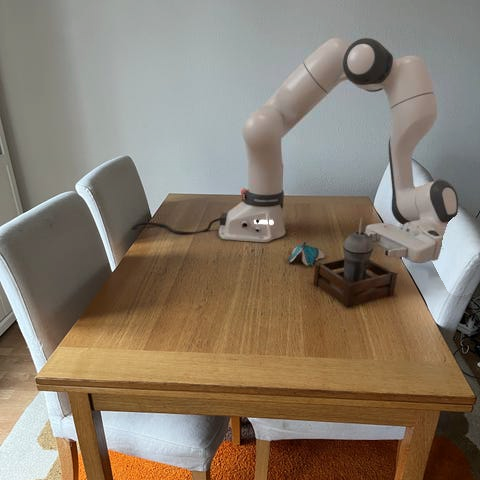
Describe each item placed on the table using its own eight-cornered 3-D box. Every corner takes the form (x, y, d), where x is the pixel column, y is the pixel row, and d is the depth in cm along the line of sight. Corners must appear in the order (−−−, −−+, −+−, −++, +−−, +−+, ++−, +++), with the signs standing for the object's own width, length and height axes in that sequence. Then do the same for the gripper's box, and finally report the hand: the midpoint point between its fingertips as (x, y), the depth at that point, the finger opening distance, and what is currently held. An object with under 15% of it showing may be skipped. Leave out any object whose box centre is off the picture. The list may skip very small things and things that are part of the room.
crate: (347, 308, 116) (350, 286, 113) (313, 284, 127) (315, 263, 124) (393, 295, 121) (397, 274, 118) (357, 273, 133) (359, 253, 130)
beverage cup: (368, 285, 126) (379, 212, 116) (365, 297, 120) (376, 221, 110) (340, 281, 128) (349, 209, 118) (336, 293, 122) (344, 218, 112)
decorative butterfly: (280, 251, 136) (292, 232, 142) (282, 269, 140) (293, 250, 147) (315, 257, 132) (325, 237, 139) (315, 275, 137) (325, 255, 143)
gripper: (390, 214, 132) (350, 222, 127) (448, 238, 117) (404, 248, 111) (387, 236, 136) (347, 244, 130) (442, 262, 120) (400, 273, 115)
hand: (374, 246), depth 121 cm, fingers open, 8 cm apart
